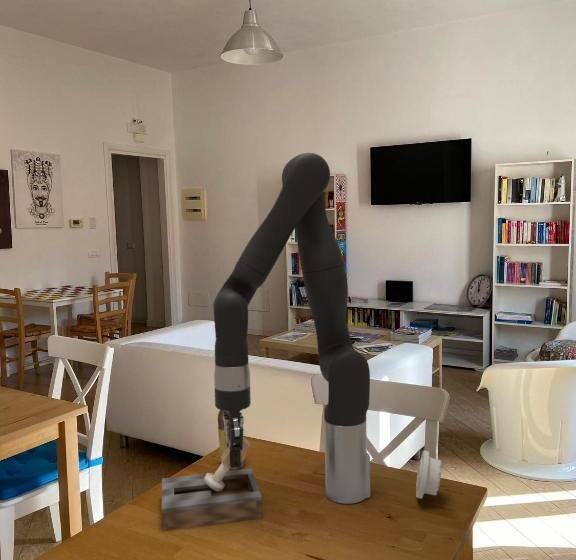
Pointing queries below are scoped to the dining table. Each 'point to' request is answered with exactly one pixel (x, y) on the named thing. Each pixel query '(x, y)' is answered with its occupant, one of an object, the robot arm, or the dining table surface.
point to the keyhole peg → (223, 468)
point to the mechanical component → (428, 475)
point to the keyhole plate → (215, 511)
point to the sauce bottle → (222, 439)
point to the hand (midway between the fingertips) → (234, 463)
